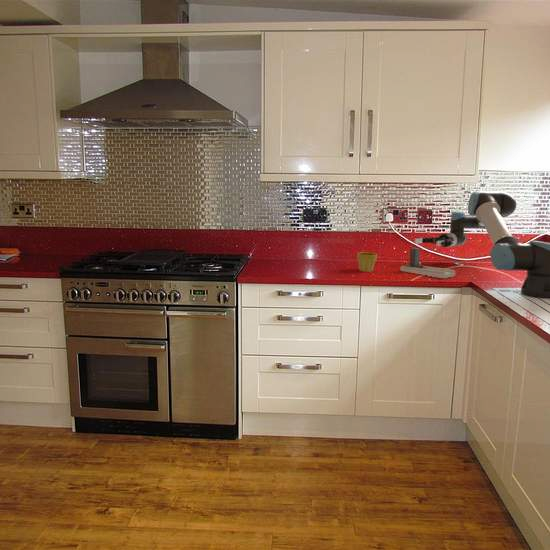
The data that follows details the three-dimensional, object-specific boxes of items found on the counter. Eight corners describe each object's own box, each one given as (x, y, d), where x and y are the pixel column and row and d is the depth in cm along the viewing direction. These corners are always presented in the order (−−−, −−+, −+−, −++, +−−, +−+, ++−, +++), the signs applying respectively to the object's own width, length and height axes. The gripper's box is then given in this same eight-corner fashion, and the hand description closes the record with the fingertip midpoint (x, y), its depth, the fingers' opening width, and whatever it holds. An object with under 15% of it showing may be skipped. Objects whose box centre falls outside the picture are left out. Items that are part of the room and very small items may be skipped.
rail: (454, 276, 259) (455, 270, 259) (444, 278, 253) (444, 272, 252) (411, 270, 279) (411, 264, 278) (400, 271, 272) (400, 265, 272)
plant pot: (378, 271, 273) (379, 253, 271) (371, 274, 264) (373, 255, 262) (360, 269, 278) (361, 251, 276) (353, 272, 269) (354, 253, 267)
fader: (422, 267, 271) (423, 248, 270) (415, 269, 267) (416, 249, 265) (413, 266, 276) (414, 247, 274) (405, 267, 271) (406, 248, 270)
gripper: (467, 248, 281) (446, 252, 267) (427, 244, 299) (406, 247, 286) (468, 235, 279) (447, 237, 266) (428, 231, 298) (406, 233, 284)
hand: (425, 242), depth 276 cm, fingers open, 13 cm apart
